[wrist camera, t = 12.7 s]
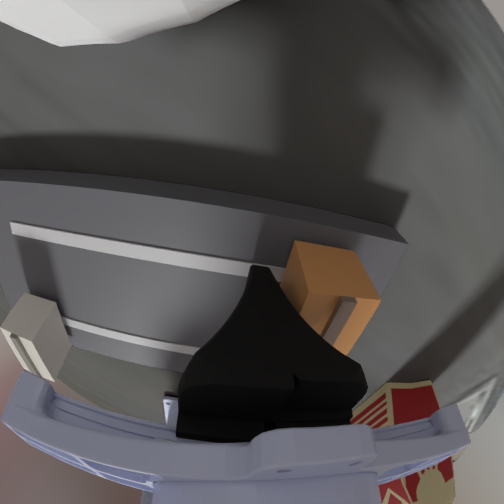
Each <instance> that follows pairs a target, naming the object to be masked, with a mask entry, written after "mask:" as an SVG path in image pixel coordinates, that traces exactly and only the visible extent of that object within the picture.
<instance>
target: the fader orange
mask: <svg viewBox="0 0 504 504" xmlns="http://www.w3.org/2000/svg"><path fill="white" fill-rule="evenodd" d="M280 287H281V289H282V290H283V292H284V293H285V295H286V296H287V298H288V300H289V301H290V302H291V304H292V305H293V307H294V308H295V309H296V311H297V312H298V313H299V314H300V315H301V317H302V318H303V319H304V320H305V321H306V322H307V323H308V324H309V325H310V326H311V327H312V328H313V329H314V330H315V331H316V332H317V333H318V334H319V335H320V336H321V337H322V338H323V339H324V340H326V341H327V342H328V343H329V344H331V345H332V346H333V347H335V348H336V349H337V350H339V351H340V352H341V353H343V354H344V355H346V356H347V354H348V353H349V351H350V350H351V348H352V347H353V345H354V344H355V342H356V341H357V339H358V338H359V336H360V335H361V333H362V331H363V330H364V328H365V327H366V325H367V324H368V322H369V320H370V319H371V317H372V315H373V314H374V312H375V310H376V309H377V307H378V305H379V304H380V302H381V299H380V297H379V295H378V293H377V291H376V289H375V287H374V285H373V283H372V282H371V280H370V278H369V276H368V274H367V272H366V271H365V269H364V267H363V265H362V264H361V262H360V260H359V258H358V257H357V255H356V253H355V251H351V250H346V249H341V248H335V247H330V246H324V245H319V244H313V243H308V242H302V241H297V240H295V241H294V244H293V247H292V250H291V253H290V256H289V259H288V263H287V266H286V269H285V272H284V275H283V278H282V281H281V284H280Z"/></svg>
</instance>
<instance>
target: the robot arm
mask: <svg viewBox="0 0 504 504" xmlns="http://www.w3.org/2000/svg"><path fill="white" fill-rule="evenodd" d="M367 389H368V386H367V382H366V379H365V375H364V372H363V370H362V367H361V365H360V364H359V363H357V362H355V361H354V360H352V359H351V358H349V357H347V356H346V355H344V354H343V353H341V352H340V351H339V350H337V349H336V348H335V347H333V346H332V345H331V344H329V343H328V342H327V341H326V340H324V339H323V338H322V337H321V336H320V335H319V334H318V333H317V332H316V331H315V330H314V329H313V328H312V327H311V326H310V325H309V324H308V323H307V322H306V321H305V320H304V319H303V318H302V317H301V315H300V314H299V313H298V312H297V311H296V309H295V308H294V307H293V305H292V304H291V302H290V301H289V300H288V298H287V296H286V295H285V293H284V292H283V290H282V289H281V287H280V285H279V284H278V282H277V280H276V279H275V277H274V275H273V273H272V271H271V270H270V268H269V267H265V266H259V265H252V266H250V269H249V273H248V277H247V282H246V286H245V290H244V293H243V295H242V297H241V299H240V301H239V302H238V304H237V306H236V308H235V309H234V311H233V312H232V314H231V315H230V317H229V318H228V319H227V321H226V322H225V323H224V325H223V326H222V327H221V328H220V329H219V330H218V332H217V333H216V334H215V335H214V336H213V337H212V338H211V339H210V340H209V341H208V342H207V343H206V344H205V345H203V346H202V347H201V348H200V349H199V350H198V351H196V352H195V354H194V356H193V357H192V359H191V360H190V362H189V364H188V365H187V367H186V369H185V371H184V373H183V375H182V378H181V381H180V384H179V391H178V398H175V397H169V396H165V397H164V398H163V403H164V411H165V417H166V424H167V425H166V424H161V423H156V422H151V421H146V420H142V419H138V418H134V417H130V416H126V415H122V414H118V413H115V412H111V411H108V410H105V409H101V408H98V407H95V406H92V405H89V404H86V403H83V402H80V401H77V400H75V399H72V398H69V397H66V396H64V395H61V394H59V393H56V392H55V391H54V389H53V387H52V385H51V384H49V382H47V381H46V380H44V379H43V378H40V377H38V376H36V375H34V374H31V373H29V372H27V371H25V370H22V372H21V373H20V376H19V378H18V380H17V382H16V384H15V386H14V388H13V391H12V393H11V395H10V397H9V400H8V402H7V405H6V407H5V409H4V412H3V414H2V417H1V421H2V422H3V423H4V424H6V425H7V426H8V427H9V428H10V429H11V430H12V431H13V432H15V433H16V434H17V435H18V436H20V437H21V438H22V439H23V440H25V441H26V442H27V443H28V444H30V445H32V446H34V447H35V448H37V449H39V450H41V451H43V452H45V453H47V454H49V455H51V456H53V457H55V458H57V459H60V460H62V461H64V462H66V463H69V464H71V465H73V466H75V467H78V468H80V469H82V470H85V471H87V472H90V473H93V474H95V475H98V476H100V477H103V478H106V479H109V480H112V481H115V482H118V483H121V484H124V485H127V486H131V487H134V488H138V489H142V490H143V493H142V497H141V503H140V504H382V502H381V496H380V491H379V485H380V484H384V483H387V482H390V481H393V480H396V479H399V478H402V477H404V476H407V475H410V474H413V473H415V472H418V471H420V470H423V469H426V468H428V467H431V466H433V465H435V464H438V463H440V462H441V461H443V460H445V459H447V458H448V457H450V456H451V455H453V454H455V453H456V452H458V451H460V450H461V449H463V448H464V447H466V446H467V445H469V444H470V443H471V440H470V438H469V435H468V432H467V429H466V427H465V424H464V421H463V419H462V416H461V414H460V411H459V409H458V406H457V404H453V405H449V406H446V407H443V408H440V409H439V410H437V411H436V412H434V413H433V414H432V415H431V417H428V418H424V419H420V420H415V421H411V422H407V423H402V424H397V425H392V426H386V427H380V428H374V429H372V428H371V427H370V426H368V425H366V424H351V423H350V419H352V418H353V414H352V408H353V407H354V406H355V405H356V404H357V403H358V402H359V401H360V400H361V399H362V398H363V396H364V395H365V394H366V392H367Z"/></svg>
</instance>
